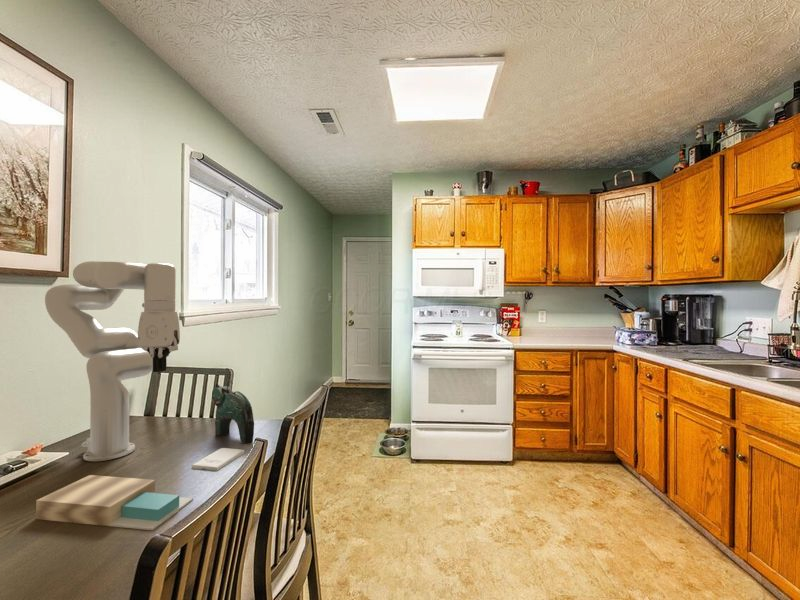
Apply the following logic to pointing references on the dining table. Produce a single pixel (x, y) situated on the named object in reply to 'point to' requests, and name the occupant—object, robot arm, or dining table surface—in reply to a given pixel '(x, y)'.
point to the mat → (148, 523)
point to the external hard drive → (218, 459)
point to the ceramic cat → (233, 413)
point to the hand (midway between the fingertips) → (159, 371)
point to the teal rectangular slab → (150, 506)
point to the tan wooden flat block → (92, 499)
